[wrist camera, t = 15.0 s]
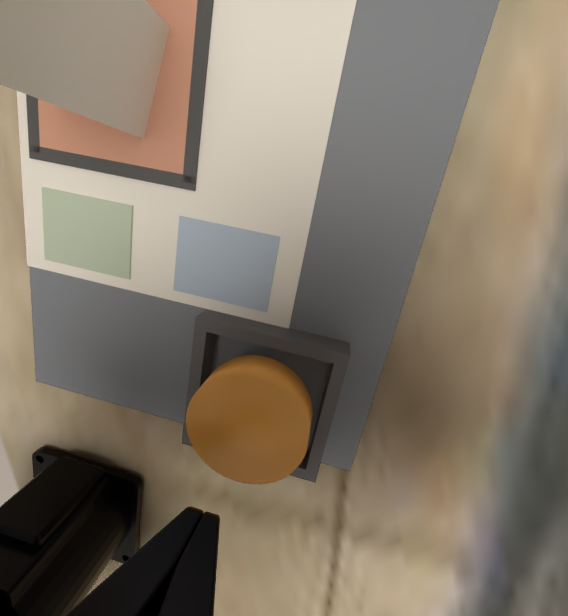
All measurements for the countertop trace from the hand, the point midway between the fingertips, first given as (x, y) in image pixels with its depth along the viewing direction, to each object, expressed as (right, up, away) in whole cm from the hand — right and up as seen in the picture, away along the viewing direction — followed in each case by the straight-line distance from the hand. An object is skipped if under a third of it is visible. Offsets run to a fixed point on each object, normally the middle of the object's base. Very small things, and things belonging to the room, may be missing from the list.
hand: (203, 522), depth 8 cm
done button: (+1, +1, +5) cm, 5 cm away
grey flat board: (-1, +8, +5) cm, 10 cm away
